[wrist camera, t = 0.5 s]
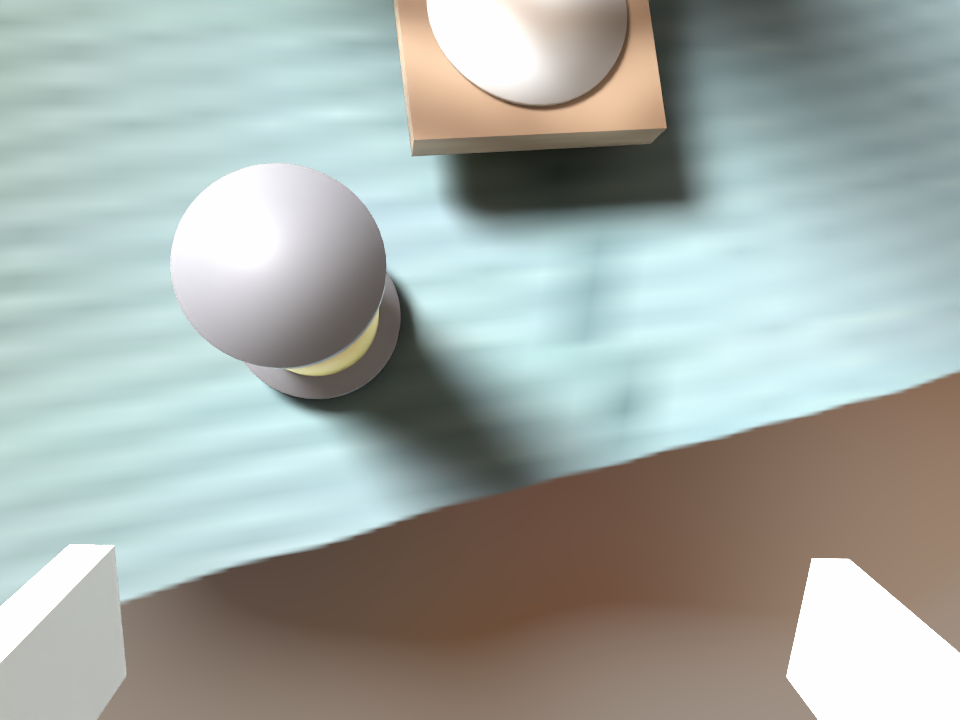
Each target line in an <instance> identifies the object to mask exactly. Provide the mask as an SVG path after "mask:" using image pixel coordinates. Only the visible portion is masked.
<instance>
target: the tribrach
mask: <svg viewBox="0 0 960 720" xmlns="http://www.w3.org/2000/svg"><path fill="white" fill-rule="evenodd" d="M393 2H394V10H395V19H396V27H397V35H398V44H399V52H400V61H401V69H402V77H403V86H404V94H405V103H406V111H407V120H408V128H409V136H410V145H411V153H412V156H426V155H446V154H465V153H484V152H504V151H523V150H542V149H562V148H581V147H600V146H620V145H639V144H651V143H652V142H653V141H654V140H655V139H656V138H657V137H658V136H659V135H660V134H661V133H662V132H663V131H664V130H665V129H667V126H666V119H665V112H664V105H663V98H662V91H661V84H660V77H659V71H658V64H657V57H656V50H655V43H654V36H653V29H652V22H651V15H650V9H649V2H648V0H393Z"/></svg>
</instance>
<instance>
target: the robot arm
mask: <svg viewBox="0 0 960 720" xmlns="http://www.w3.org/2000/svg"><path fill="white" fill-rule="evenodd" d="M126 676H127V674H126V664H125V653H124V642H123V632H122V621H121V611H120V599H119V589H118V578H117V567H116V557H115V546H114V545H69V546H68V547H66V548H65V549H64V550H63V551H62V552H61V553H60V554H59V555H58V556H56V557H55V558H54V559H53V560H52V561H51V562H50V563H49V564H47V565H46V566H45V567H44V568H43V569H42V570H41V571H40V572H39V573H37V574H36V575H35V576H34V577H33V578H32V579H31V580H30V581H29V582H27V583H26V584H25V585H24V586H23V587H22V588H21V589H20V590H19V591H17V592H16V593H15V594H14V595H13V596H12V597H11V598H10V599H9V600H7V601H6V602H5V603H4V604H3V605H2V606H1V607H0V720H97V718H98V717H99V715H100V714H101V713H102V711H103V710H104V708H105V707H106V705H107V704H108V702H109V701H110V699H111V698H112V696H113V695H114V693H115V692H116V690H117V689H118V687H119V686H120V684H121V683H122V681H123V680H124V678H125V677H126ZM787 678H788V680H789V681H790V682H791V684H792V685H793V686H794V688H795V689H796V690H797V691H798V693H799V694H800V696H801V697H802V698H803V700H804V701H805V702H806V704H807V705H808V707H809V708H810V709H811V711H812V712H813V713H814V714H815V716H816V717H817V719H818V720H960V653H959V652H958V651H957V650H955V649H954V648H953V647H952V646H951V645H950V644H948V643H947V642H946V641H945V640H944V639H942V638H941V637H940V636H939V635H938V634H937V633H935V632H934V631H933V630H932V629H930V628H929V627H928V626H927V625H926V624H925V623H924V622H922V621H921V620H920V619H919V618H918V617H916V616H915V615H914V614H913V613H912V612H911V611H910V610H908V609H907V608H906V607H905V606H904V605H902V604H901V603H900V602H899V601H898V600H897V599H895V598H894V597H893V596H892V595H891V594H889V593H888V592H887V591H886V590H885V589H883V588H882V587H881V586H880V585H879V584H878V583H876V582H875V581H874V580H873V579H872V578H871V577H869V576H868V575H867V574H866V573H865V572H864V571H862V570H861V569H860V568H859V567H858V566H857V565H855V564H854V563H853V562H852V561H851V560H849V559H817V558H812V561H811V566H810V570H809V575H808V579H807V584H806V589H805V594H804V598H803V602H802V608H801V612H800V617H799V621H798V626H797V630H796V635H795V640H794V644H793V649H792V654H791V658H790V663H789V667H788V672H787Z"/></svg>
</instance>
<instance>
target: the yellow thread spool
mask: <svg viewBox="0 0 960 720" xmlns="http://www.w3.org/2000/svg"><path fill="white" fill-rule="evenodd" d="M170 261H171V277H172V283H173V288H174V291H175V294H176V298H177V300H178V303H179V305H180V307H181V309H182V311H183V313H184V314H185V316H186V317H187V319H188V320H189V322H190V323H191V325H192V326H193V327H194V328H195V329H196V331H197V332H198V333H199V334H200V335H201V336H202V337H203V338H204V339H206V340H207V341H208V342H209V343H210V344H211V345H213V346H214V347H216V348H217V349H219V350H220V351H222V352H223V353H225V354H227V355H229V356H232V357H234V358H236V359H238V360H241V361H244V363H245V364H246V366H247V367H248V368H249V369H250V370H251V371H252V372H253V373H254V374H255V375H256V376H257V377H258V378H259V379H260V380H261V381H263V382H264V383H266V384H267V385H269V386H270V387H272V388H274V389H276V390H278V391H280V392H283V393H286V394H289V395H291V396H296V397H301V398H308V399H328V398H333V397H339V396H342V395H345V394H348V393H350V392H353V391H355V390H357V389H359V388H360V387H362V386H364V385H365V384H367V383H368V382H369V381H371V380H372V379H373V378H374V377H375V376H376V375H377V374H378V373H379V372H380V371H381V370H382V369H383V367H384V366H385V365H386V363H387V362H388V360H389V359H390V357H391V355H392V353H393V351H394V348H395V345H396V343H397V339H398V335H399V330H400V321H401V313H400V304H399V298H398V295H397V292H396V289H395V286H394V284H393V282H392V280H391V278H390V276H389V275H388V273H387V271H386V255H385V249H384V244H383V240H382V237H381V234H380V231H379V229H378V227H377V225H376V223H375V220H374V218H373V217H372V215H371V214H370V212H369V211H368V209H367V208H366V206H365V205H364V204H363V203H362V202H361V200H360V199H359V198H358V197H357V196H356V195H355V194H354V193H353V192H352V191H350V190H349V189H348V188H347V187H346V186H344V185H343V184H341V183H340V182H339V181H337V180H335V179H333V178H332V177H330V176H328V175H326V174H324V173H321V172H319V171H316V170H314V169H311V168H307V167H303V166H299V165H292V164H283V163H270V164H261V165H255V166H251V167H247V168H243V169H240V170H238V171H235V172H232V173H230V174H228V175H226V176H224V177H222V178H221V179H219V180H217V181H216V182H214V183H213V184H212V185H210V186H209V187H207V188H206V189H205V190H204V191H203V192H202V193H201V194H200V195H199V196H198V197H197V198H196V199H195V200H194V201H193V203H192V204H191V205H190V206H189V208H188V209H187V211H186V212H185V214H184V216H183V217H182V219H181V221H180V223H179V226H178V228H177V230H176V233H175V237H174V240H173V244H172V251H171V259H170Z"/></svg>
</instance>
